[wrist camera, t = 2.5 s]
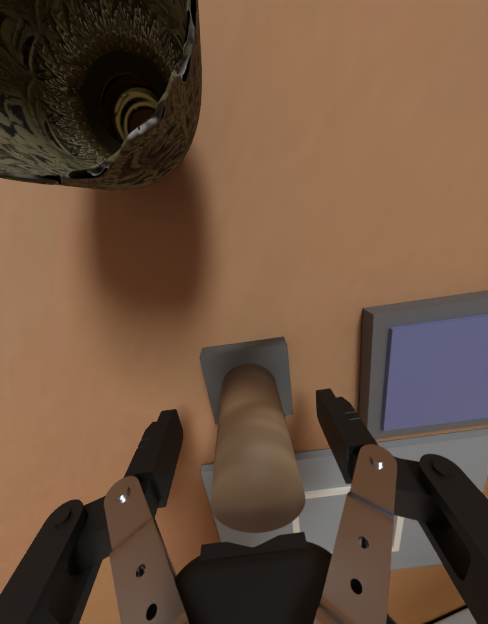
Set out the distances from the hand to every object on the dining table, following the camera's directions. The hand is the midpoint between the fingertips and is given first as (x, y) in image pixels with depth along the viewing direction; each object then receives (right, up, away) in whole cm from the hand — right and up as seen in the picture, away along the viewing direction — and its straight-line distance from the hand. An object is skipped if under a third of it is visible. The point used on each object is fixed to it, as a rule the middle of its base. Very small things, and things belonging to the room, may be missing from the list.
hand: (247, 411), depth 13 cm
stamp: (0, +1, +3) cm, 3 cm away
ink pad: (+15, +2, +3) cm, 16 cm away
